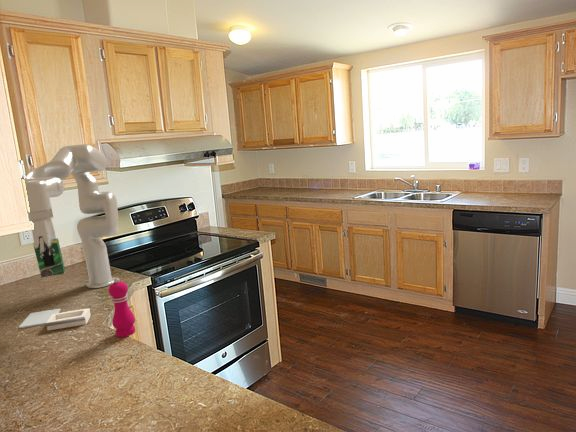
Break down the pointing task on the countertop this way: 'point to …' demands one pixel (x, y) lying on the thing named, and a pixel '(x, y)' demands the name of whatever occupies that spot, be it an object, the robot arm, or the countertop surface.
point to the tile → (38, 318)
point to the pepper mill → (121, 309)
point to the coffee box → (58, 260)
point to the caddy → (68, 319)
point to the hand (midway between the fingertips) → (51, 263)
